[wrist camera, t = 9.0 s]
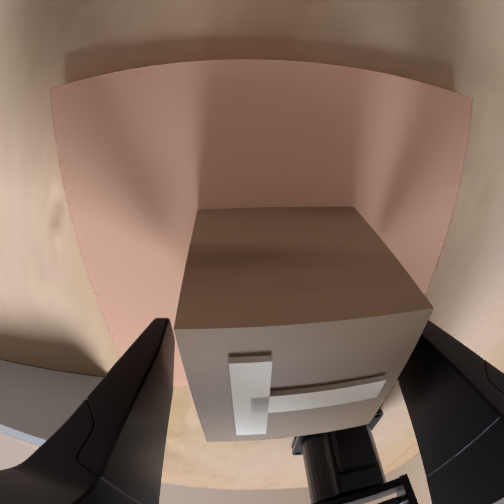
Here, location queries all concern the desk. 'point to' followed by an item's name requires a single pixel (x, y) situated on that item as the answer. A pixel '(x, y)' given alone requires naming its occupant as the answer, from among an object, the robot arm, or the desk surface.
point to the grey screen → (39, 400)
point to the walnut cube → (292, 321)
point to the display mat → (246, 165)
